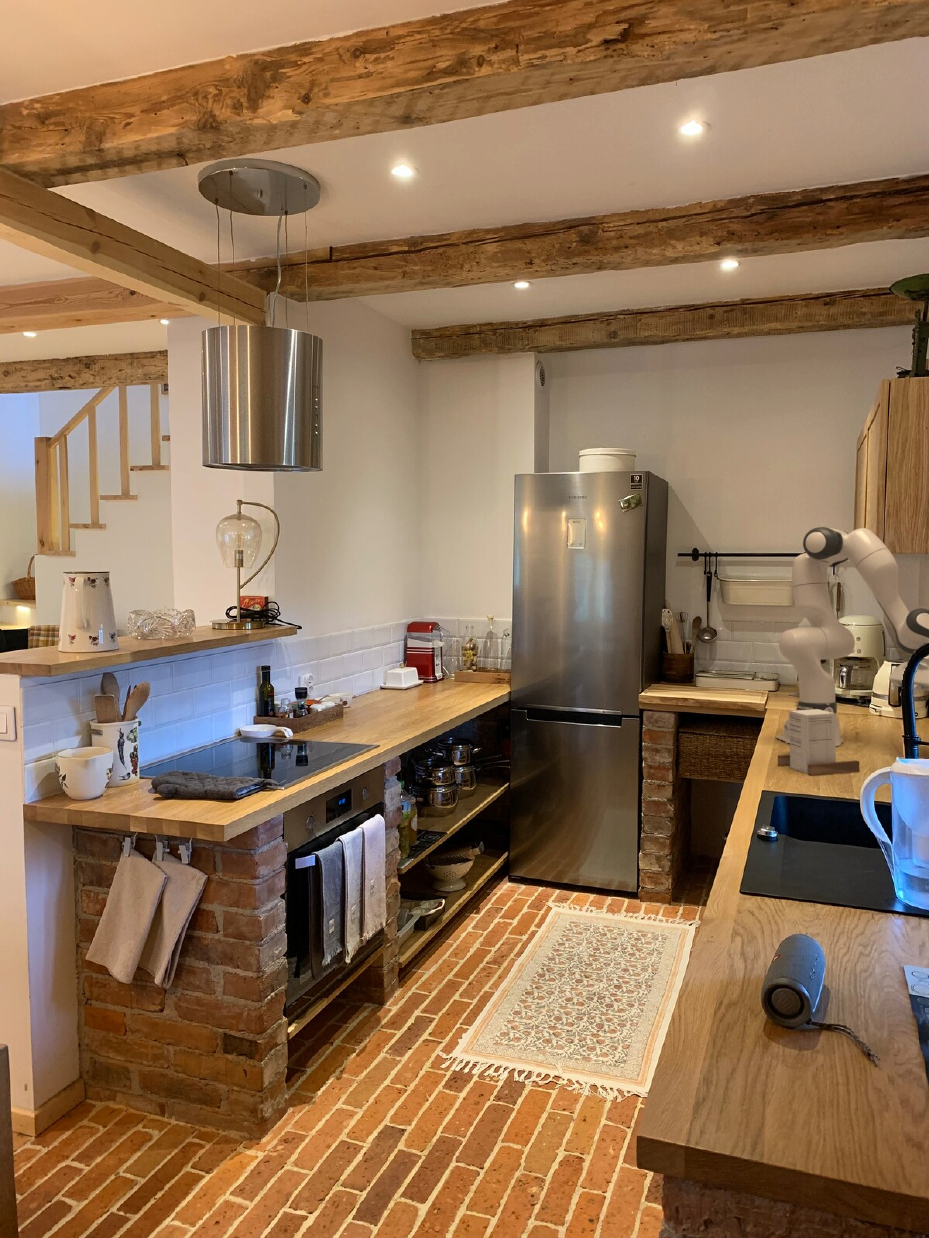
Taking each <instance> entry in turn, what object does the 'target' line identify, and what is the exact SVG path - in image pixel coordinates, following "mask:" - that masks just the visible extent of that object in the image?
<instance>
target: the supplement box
mask: <svg viewBox="0 0 929 1238" xmlns="http://www.w3.org/2000/svg"><path fill="white" fill-rule="evenodd" d="M788 713H789V714H788V719H789V731H790V744H789V754H790V766H789V768H790V769H793V770H796V771H798V770H799V772H801V773H804V774H806V773H808V764H817V763H829V762H837V761H836V746H835V713H832V712H827V711H823V710H819V709H812V710H796V709H795V710H789V711H788Z"/></svg>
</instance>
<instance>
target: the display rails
mask: <svg viewBox="0 0 929 1238" xmlns="http://www.w3.org/2000/svg"><path fill="white" fill-rule="evenodd" d="M777 766H779V767H790V753H789V754H778V755H777ZM834 773H840V774H851V773H860V760H845V761H836V762H829V763H817V764H808V775H809V776H810V777H815V776H827V775H826V774H828V775H835V774H834Z"/></svg>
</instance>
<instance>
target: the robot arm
mask: <svg viewBox="0 0 929 1238" xmlns="http://www.w3.org/2000/svg"><path fill="white" fill-rule="evenodd" d="M802 547H803V549H804V553H801V554H799V555H797V556H796V557H795V558H794V560H793V563H792V572H791V573H792V574H791V578H792V580H791V581H792V593H793V601H794V608H795V611H796V612H797V613H798V614H799V615H800V616H803V617H804V618H805V619H806V620H807V621H808V622H809V624H810V626H807V627H802V626H801V627H795V628H791V629H787V630H785V631H783V632H782V634H781V636H780V637H779V640H778V649H779V651H780V653H781V655H782V656H783V657H784V658H785V659H786V660H788V661H789V662H790V664H791V665H792V666H793V668H794V669H795V672H796V674H797V678H798V689H799V690H798V692H799V693H798V694H799V700H798V701H797V702H796V701H795V702H794V703H795V705H794V706H795V707H796V709H795V711H796V710H812V709H819V710H823V711H827V712H832V713H835V747H839V746H841V745H842V743H844V739H843V738H841V727H840V720H839V718H838V716H837V715H836V714H837V713H838V705H837V701H836V680H835V678H834V677H833V675H832V674H830V673H829V672H827V671H825V670H824V669H823V667H822V663H821V660H824V661H826V660H836V659H837V660H838V659H841V658H845V657H848V656H850V655H851V654H852V653H853V650H854V649H855V644H856V643H855V640H856V639H855V637H854V635H853V633H852V631H851V630H850V629H848V628H847V627H846V626H844V625H843V624H842V622H840V620H839V619H838V617H837V615H836V614H835V612H834V609H833V606H832V603H831V595H830V592H829V591H830V590H829V583H828V569H829V567H830V568H833V567H836V566H838V565H840V564H842V563H844V562H847V561H848V560H849V561H850V562H851V563H852V565H853V567H854V568H855V569H856V571H857V572H858V574H859V575H860V576H861V578H862V579H863V580H864V582H865V583H866V584H867V587H869V589H870V591H871V593H872V594H873V595H874V597H875V599H876V601H877V603H878V605H879V607H880V608H881V610H882V611H883V613H884V614H885V616H886V618H887V620H888V622H889V623H890V625H891V626H892V628H893V630H894V634H895V640H896V643H897V645H898V647H899V648H900V649H901V650H902V651H904V652H905V653H906V654H907V653H908V654H910V655H914V654H913V653H914V651H915V650H917V648H919V647H920V646H921V645H923V644H924V643H929V608H923V607H921V608H920V607H919V608H916V609H913V610H911V611H909V610H908V608H907V606H906V604H905V603H904V602H903V600H902V597H901V596H900V592H899V587H898V585H899V565H898V563H897V561H896V558H895V557H894V554H892V552H891V551H890V550H889V548H888V547H887V546H886V545H885V543H884V542H883V541H882V540H881V538H879V537H878V536H877V535H876V534H875V533H874V532H872V530H871V529H870V528H869V529H868V528H865V527H863V528H861V527H859V528H857V529H854V530H852V531H851V532H847V531H845V530H841V529H838V528H834V527H826V526H822V527H821V526H818V527H814V528H812V529H810V530H809V531H808V532H806V534H805V536H804V537H803V541H802ZM909 661H910V660H908V661H904V662H902V663H900V664H899V665H898V666H897V667H896V668H895V669H894V670H893V671H892V672H891V674H890V675H889V677H888V680H889V681H890V682H891V683H892V685H894V686H896V687H901V686H902V680H903V674H904V671H905V668H906V667H907V663H908V662H909ZM901 688H902V687H901ZM922 690H923V691H928V692H929V656H927V657H924V659H923V660H922V661H921V662H920V665H919V667H918V668H917V672H916V674H915V678H914V695H913V696H915V695H917V694H919V693H920V692H921V691H922ZM899 696H900V697H901V692H900V694H899ZM775 737H776V738H778V739H781V740H783V741H785V742H784V743H786V744H788V743H790V731H789V718H788V719H786V721H784V724H783V734H779V735H776V736H775ZM776 738H775V739H776ZM778 739H777V740H778ZM781 740H780V741H781ZM783 741H782V742H783Z"/></svg>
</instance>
